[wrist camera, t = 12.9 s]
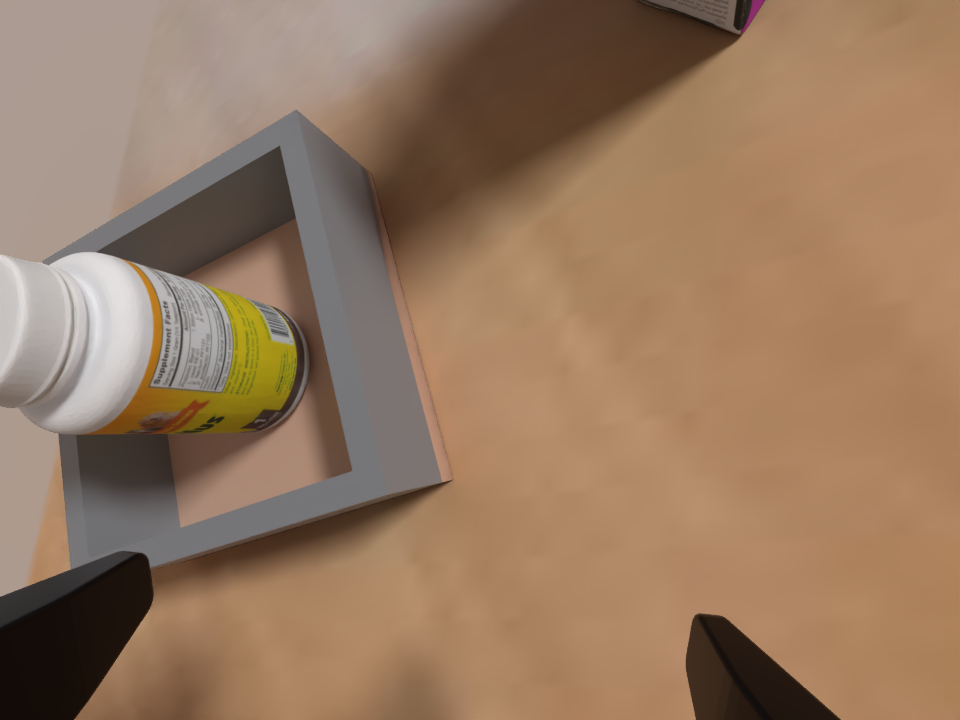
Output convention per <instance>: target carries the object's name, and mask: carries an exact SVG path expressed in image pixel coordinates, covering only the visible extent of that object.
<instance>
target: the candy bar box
mask: <svg viewBox="0 0 960 720" xmlns="http://www.w3.org/2000/svg"><path fill="white" fill-rule="evenodd" d="M639 1H641V2H643V3H645V4H648V5H651V6H653V7H655V8H659V9H662V10H667V11H671V12H675V13H678V14H681V15H685V16H687V17H690V18H693V19H695V20H698V21H700V22H703V23H706V24H708V25H711V26H714V27H716V28H719V29H723V30H726V31H729V32H732V33H735V34H738V35H741V34H743V33H744V32H745V31H746V29H747V28H748V26H749V25H750V23H751V22H752V20H753V19H754V17H755V16H756V14H757V12H758V11H759V9H760V8H761V6H762V5H763V3H764V2H765V0H639Z"/></svg>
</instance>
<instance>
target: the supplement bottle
mask: <svg viewBox="0 0 960 720" xmlns="http://www.w3.org/2000/svg"><path fill="white" fill-rule="evenodd" d="M309 366H310V360H309V351H308V346H307V342H306V339H305V337H304V334H303V332H302V330H301V329H300V327H299V326H298V324H297V323H296V322H295V321H294V320H293V319H292V318H291V317H290V316H289V315H288V314H286V313H285V312H283V311H282V310H280V309H278V308H276V307H273V306H270V305H267V304H264V303H261V302H258V301H255V300H252V299H249V298H245V297H242V296H239V295H236V294H233V293H230V292H227V291H224V290H221V289H217V288H214V287H212V286H208V285H205V284H202V283H198V282H195V281H192V280H189V279H185V278H182V277H179V276H176V275H173V274H170V273H166V272H163V271H160V270H157V269H153V268H150V267H147V266H143V265H140V264H137V263H134V262H130V261H127V260H124V259H121V258H118V257H115V256H111V255H106V254H102V253H97V252H81V253H75V254H71V255H68V256H66V257H63V258H61V259H59V260H57V261H55V262H53V263H52V264H50V265H49V266H48V265H46V264H43V263H38V262H29V261H25V260H21V259H17V258H13V257H9V256H6V255H1V254H0V406H2V407H7V408H16V407H18V408H19V409H20V410H21V412H22V413H23V414H24V415H25V416H26V417H27V418H28V419H29V420H30V421H31V422H33V423H34V424H36V425H37V426H39V427H40V428H43V429H45V430H48V431H51V432H54V433H59V434H75V435H93V434H173V433H178V434H184V433H247V432H257V431H262V430H265V429H268V428H270V427H272V426H274V425H276V424H278V423H279V422H281V421H282V420H283V419H284V418H286V417H287V416H288V415H289V414H290V413H291V412H292V411H293V410H294V408H295V407H296V405H297V404H298V402H299V401H300V399H301V397H302V395H303V393H304V390H305V387H306V384H307V380H308V375H309Z"/></svg>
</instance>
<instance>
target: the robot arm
mask: <svg viewBox="0 0 960 720" xmlns="http://www.w3.org/2000/svg"><path fill="white" fill-rule="evenodd" d="M153 596H154V592H153V585H152V577H151V570H150V563H149V559H148V557H147V556H146V555H145V554H143V553H140V552H131V551H119V552H115V553H113V554H110V555H108V556H105V557H102V558H100V559H97V560H95V561H92V562H90V563H87V564H84V565H82V566H79V567H77V568H74V569H71V570H69V571H66V572H64V573H61V574H58V575H56V576H53V577H51V578H48V579H45V580H43V581H40V582H38V583H35V584H32V585H30V586H27V587H25V588H22V589H20V590H17V591H14V592H12V593H9V594H7V595H4V596H1V597H0V720H74V719H75V718H76V717H77V715H78V714H79V713H80V711H81V710H82V709H83V707H84V706H85V705H86V703H87V702H88V701H89V699H90V698H91V696H92V695H93V693H94V692H95V690H96V689H97V688H98V686H99V685H100V683H101V682H102V680H103V679H104V677H105V676H106V674H107V673H108V671H109V670H110V668H111V667H112V665H113V664H114V662H115V661H116V659H117V658H118V656H119V655H120V653H121V652H122V650H123V649H124V647H125V646H126V644H127V643H128V641H129V640H130V638H131V637H132V635H133V633H134V632H135V630H136V629H137V627H138V626H139V624H140V623H141V621H142V620H143V618H144V617H145V615H146V614H147V612H148V611H149V609H150V607H151V604H152V601H153ZM686 672H687V678H688V682H689V687H690V692H691V697H692V702H693V707H694V712H695V717H696V720H841V719H840V718H839V717H837V716H836V715H835V714H834V713H833V712H832V711H831V710H829V709H828V708H827V707H826V706H825V705H824V704H823V703H822V702H820V701H819V700H818V699H817V698H816V697H815V696H814V695H812V694H811V693H810V692H809V691H808V690H807V689H806V688H805V687H803V686H802V685H801V684H800V683H799V682H798V681H797V680H795V679H794V678H793V677H792V676H791V675H790V674H789V673H788V672H786V671H785V670H784V669H783V668H782V667H781V666H780V665H778V664H777V663H776V662H775V661H774V660H773V659H772V658H771V657H769V656H768V655H767V654H766V653H765V652H764V651H763V650H761V649H760V648H759V647H758V646H757V645H756V644H755V643H754V642H752V641H751V640H750V639H749V638H748V637H747V636H746V635H744V634H743V633H742V632H741V631H740V630H739V629H738V628H737V627H735V626H734V625H733V624H732V623H731V622H730V621H729V620H727V619H726V618H725V617H723V616H719V615H711V614H701V613H699V614H697V615H695V616H694V618H693V621H692V626H691V631H690V637H689V643H688V648H687V654H686Z"/></svg>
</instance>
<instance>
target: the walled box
mask: <svg viewBox="0 0 960 720" xmlns="http://www.w3.org/2000/svg"><path fill="white" fill-rule="evenodd" d="M81 252H97V253H102V254H106V255H111V256H115V257H118V258H121V259H124V260H127V261H130V262H134V263H137V264H140V265H143V266H147V267H150V268H153V269H157V270H160V271H163V272H166V273H170V274H173V275H176V276H179V277H182V278H185V279H189V280H192V281H195V282H198V283H202V284H205V285H208V286H212V287H214V288H217V289H221V290H224V291H227V292H230V293H233V294H236V295H239V296H242V297H245V298H249V299H252V300H255V301H258V302H261V303H264V304H267V305H270V306H273V307H276V308H278V309H280V310H282V311H283V312H285V313H286V314H288V315H289V316H290V317H291V318H292V319H293V320H294V321H295V322H296V323H297V324H298V326H299V327H300V329H301V330H302V332H303V334H304V337H305V339H306V342H307V346H308V351H309V360H310V366H309V375H308V380H307V384H306V387H305V390H304V393H303V395H302V397H301V399H300V401H299V402H298V404H297V405H296V407H295V408H294V410H293V411H292V412H291V413H290V414H289V415H288V416H287V417H286V418H284V419H283V420H282V421H281V422H279V423H278V424H276V425H274V426H272V427H270V428H268V429H265V430H262V431H257V432H247V433H184V434H178V433H173V434H93V435H75V434H59V433H58V434H59V445H60V456H61V467H62V478H63V489H64V500H65V511H66V521H67V532H68V543H69V554H70V565H71V569H74V568H77V567H79V566H82V565H84V564H87V563H90V562H92V561H95V560H97V559H100V558H102V557H105V556H108V555H110V554H113V553H115V552H119V551H131V552H140V553H143V554H145V555H146V556H147V557H148V559H149V563H150V570H155V569H158V568H162V567H166V566H169V565H173V564H177V563H180V562H184V561H188V560H191V559H195V558H198V557H201V556H204V555H208V554H211V553H214V552H217V551H221V550H224V549H227V548H231V547H234V546H237V545H240V544H244V543H247V542H250V541H254V540H257V539H260V538H263V537H267V536H270V535H273V534H277V533H280V532H283V531H286V530H290V529H293V528H296V527H300V526H303V525H306V524H309V523H313V522H316V521H319V520H322V519H326V518H329V517H332V516H336V515H339V514H342V513H345V512H349V511H352V510H355V509H359V508H362V507H365V506H368V505H372V504H375V503H378V502H382V501H385V500H388V499H391V498H395V497H398V496H401V495H404V494H408V493H411V492H414V491H418V490H421V489H424V488H427V487H431V486H434V485H437V484H441V483H444V482H447V481H450V480H453V478H452V474H451V470H450V466H449V463H448V459H447V455H446V451H445V448H444V444H443V440H442V437H441V433H440V429H439V425H438V422H437V418H436V414H435V410H434V407H433V403H432V399H431V395H430V392H429V388H428V384H427V380H426V377H425V373H424V369H423V365H422V362H421V358H420V354H419V350H418V347H417V343H416V339H415V336H414V332H413V328H412V324H411V321H410V317H409V313H408V309H407V306H406V302H405V298H404V294H403V291H402V287H401V283H400V279H399V276H398V272H397V268H396V264H395V261H394V257H393V253H392V249H391V246H390V242H389V238H388V235H387V231H386V227H385V223H384V220H383V216H382V212H381V208H380V205H379V201H378V197H377V193H376V190H375V186H374V182H373V178H372V175H371V173H370V172H369V171H367V170H366V169H365V168H364V167H363V166H362V165H360V164H359V163H358V162H357V161H356V160H355V159H353V158H352V157H351V156H350V155H349V154H348V153H346V152H345V151H344V150H343V149H342V148H341V147H339V146H338V145H337V144H336V143H335V142H334V141H332V140H331V139H330V138H329V137H328V136H327V135H325V134H324V133H323V132H322V131H321V130H320V129H318V128H317V127H316V126H315V125H314V124H313V123H311V122H310V121H309V120H308V119H307V118H306V117H304V116H303V115H302V114H301V113H300V112H299V111H297V110H295V111H293V112H292V113H290V114H288V115H287V116H285V117H283V118H282V119H280V120H278V121H277V122H275V123H273V124H272V125H270V126H268V127H267V128H265V129H263V130H261V131H260V132H258V133H256V134H255V135H253V136H251V137H250V138H248V139H246V140H245V141H243V142H241V143H240V144H238V145H236V146H235V147H233V148H231V149H230V150H228V151H226V152H225V153H223V154H221V155H220V156H218V157H216V158H215V159H213V160H211V161H209V162H208V163H206V164H204V165H203V166H201V167H199V168H198V169H196V170H194V171H193V172H191V173H189V174H188V175H186V176H184V177H183V178H181V179H179V180H178V181H176V182H174V183H173V184H171V185H169V186H168V187H166V188H164V189H163V190H161V191H159V192H157V193H156V194H154V195H152V196H151V197H149V198H147V199H146V200H144V201H142V202H141V203H139V204H137V205H136V206H134V207H132V208H131V209H129V210H127V211H126V212H124V213H122V214H121V215H119V216H117V217H116V218H114V219H112V220H110V221H109V222H107V223H105V224H104V225H102V226H100V227H99V228H97V229H95V230H94V231H92V232H90V233H89V234H87V235H85V236H84V237H82V238H80V239H79V240H77V241H75V242H74V243H72V244H70V245H69V246H67V247H65V248H64V249H62V250H60V251H58V252H57V253H55V254H54V255H52V256H50V257H48V258H47V259H45V260H44V261H43V264H46V265H48V266H49V265H50V264H52V263H53V262H55V261H57V260H59V259H61V258H63V257H66V256H68V255H71V254H75V253H81Z"/></svg>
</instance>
